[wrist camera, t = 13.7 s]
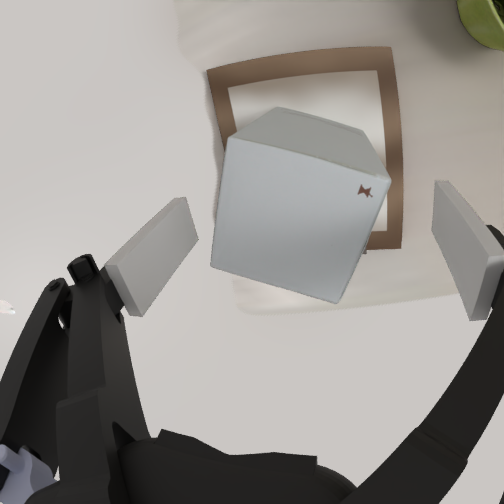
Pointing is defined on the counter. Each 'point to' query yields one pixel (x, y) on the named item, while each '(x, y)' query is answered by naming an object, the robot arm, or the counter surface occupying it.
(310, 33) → the counter surface
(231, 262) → the supplement box
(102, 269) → the robot arm
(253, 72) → the brown square frame
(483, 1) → the plant pot
